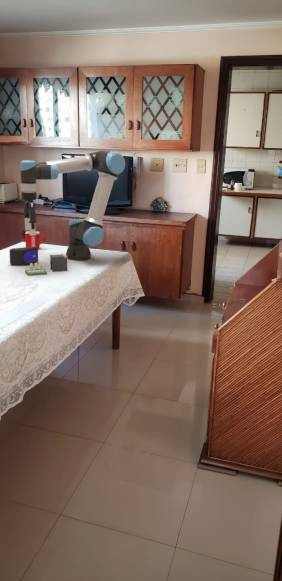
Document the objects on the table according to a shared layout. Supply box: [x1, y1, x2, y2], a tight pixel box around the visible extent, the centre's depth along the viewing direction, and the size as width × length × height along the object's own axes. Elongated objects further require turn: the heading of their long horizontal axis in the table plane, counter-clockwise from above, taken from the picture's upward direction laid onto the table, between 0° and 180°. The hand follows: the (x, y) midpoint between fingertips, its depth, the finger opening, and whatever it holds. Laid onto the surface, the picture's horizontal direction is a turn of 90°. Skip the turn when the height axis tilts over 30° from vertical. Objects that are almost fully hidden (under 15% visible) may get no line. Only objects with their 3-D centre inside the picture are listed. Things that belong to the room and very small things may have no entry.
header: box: [24, 261, 48, 277], centre depth 236 cm, size 10×7×6 cm
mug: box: [24, 230, 46, 250], centre depth 285 cm, size 12×8×11 cm
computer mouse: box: [9, 246, 39, 267], centre depth 250 cm, size 16×5×9 cm, turn 123°
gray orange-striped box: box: [49, 253, 68, 273], centre depth 243 cm, size 8×5×8 cm, turn 116°
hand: (30, 232), depth 237 cm, fingers open, 13 cm apart
